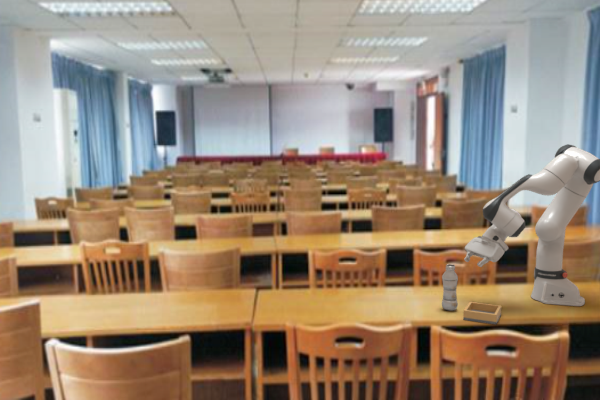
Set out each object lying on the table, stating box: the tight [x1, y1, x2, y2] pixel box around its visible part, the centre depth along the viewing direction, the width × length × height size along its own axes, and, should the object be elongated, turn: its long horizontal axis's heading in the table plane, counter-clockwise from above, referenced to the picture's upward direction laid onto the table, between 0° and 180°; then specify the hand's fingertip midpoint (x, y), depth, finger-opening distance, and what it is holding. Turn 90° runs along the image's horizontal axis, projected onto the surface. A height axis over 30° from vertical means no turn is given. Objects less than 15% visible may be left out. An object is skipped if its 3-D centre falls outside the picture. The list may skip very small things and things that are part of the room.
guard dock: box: [462, 301, 502, 325], centre depth 230 cm, size 13×13×4 cm
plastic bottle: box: [441, 263, 459, 312], centre depth 239 cm, size 6×7×20 cm
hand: (472, 263), depth 240 cm, fingers open, 8 cm apart
